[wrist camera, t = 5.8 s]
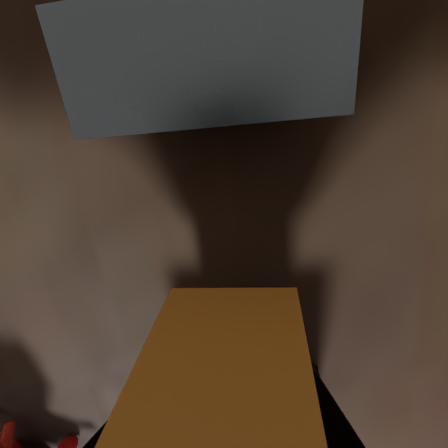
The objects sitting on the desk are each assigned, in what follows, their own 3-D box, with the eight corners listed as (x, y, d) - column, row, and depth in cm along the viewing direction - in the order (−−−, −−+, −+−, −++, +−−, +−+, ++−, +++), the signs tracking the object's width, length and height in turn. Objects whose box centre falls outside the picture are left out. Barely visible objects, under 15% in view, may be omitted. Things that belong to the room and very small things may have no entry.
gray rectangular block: (319, 17, 8) (367, -53, 4) (316, 109, 9) (354, 114, 5) (126, 44, 9) (34, 4, 5) (142, 126, 10) (74, 140, 6)
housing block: (296, 287, 8) (337, 501, 4) (295, 397, 10) (322, 625, 6) (171, 287, 9) (81, 474, 5) (192, 391, 11) (144, 593, 6)
